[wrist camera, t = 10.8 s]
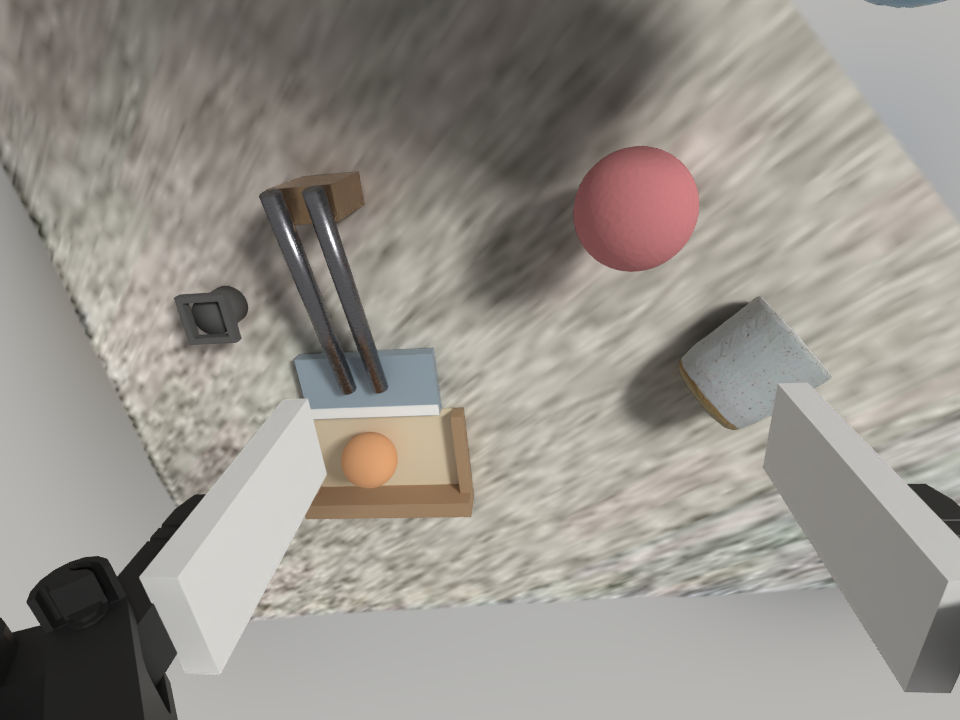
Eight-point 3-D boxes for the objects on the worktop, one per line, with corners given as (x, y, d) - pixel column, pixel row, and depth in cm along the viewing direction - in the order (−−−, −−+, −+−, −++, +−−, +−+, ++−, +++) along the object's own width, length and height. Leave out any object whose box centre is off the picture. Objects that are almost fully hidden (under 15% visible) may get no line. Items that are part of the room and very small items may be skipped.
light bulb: (551, 160, 39) (560, 185, 29) (649, 119, 38) (697, 128, 27) (582, 251, 42) (601, 304, 31) (675, 216, 40) (729, 260, 30)
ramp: (302, 175, 41) (252, 193, 34) (358, 170, 41) (320, 187, 33) (347, 380, 49) (314, 431, 41) (395, 378, 48) (370, 429, 41)
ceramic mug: (661, 349, 45) (686, 397, 38) (746, 281, 42) (790, 319, 35) (740, 426, 48) (776, 483, 41) (825, 367, 45) (879, 417, 38)
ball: (322, 449, 47) (337, 483, 51) (363, 476, 45) (376, 509, 48) (363, 412, 50) (375, 446, 53) (403, 435, 48) (413, 469, 51)
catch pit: (293, 413, 51) (280, 431, 48) (463, 407, 49) (459, 425, 46) (316, 498, 55) (306, 519, 52) (474, 495, 53) (471, 516, 51)
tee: (200, 282, 46) (173, 297, 42) (245, 280, 45) (222, 294, 42) (214, 326, 47) (190, 344, 44) (258, 324, 47) (236, 342, 44)
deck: (299, 354, 48) (293, 360, 47) (433, 347, 47) (430, 354, 45) (314, 412, 51) (309, 420, 49) (441, 408, 49) (439, 415, 48)
